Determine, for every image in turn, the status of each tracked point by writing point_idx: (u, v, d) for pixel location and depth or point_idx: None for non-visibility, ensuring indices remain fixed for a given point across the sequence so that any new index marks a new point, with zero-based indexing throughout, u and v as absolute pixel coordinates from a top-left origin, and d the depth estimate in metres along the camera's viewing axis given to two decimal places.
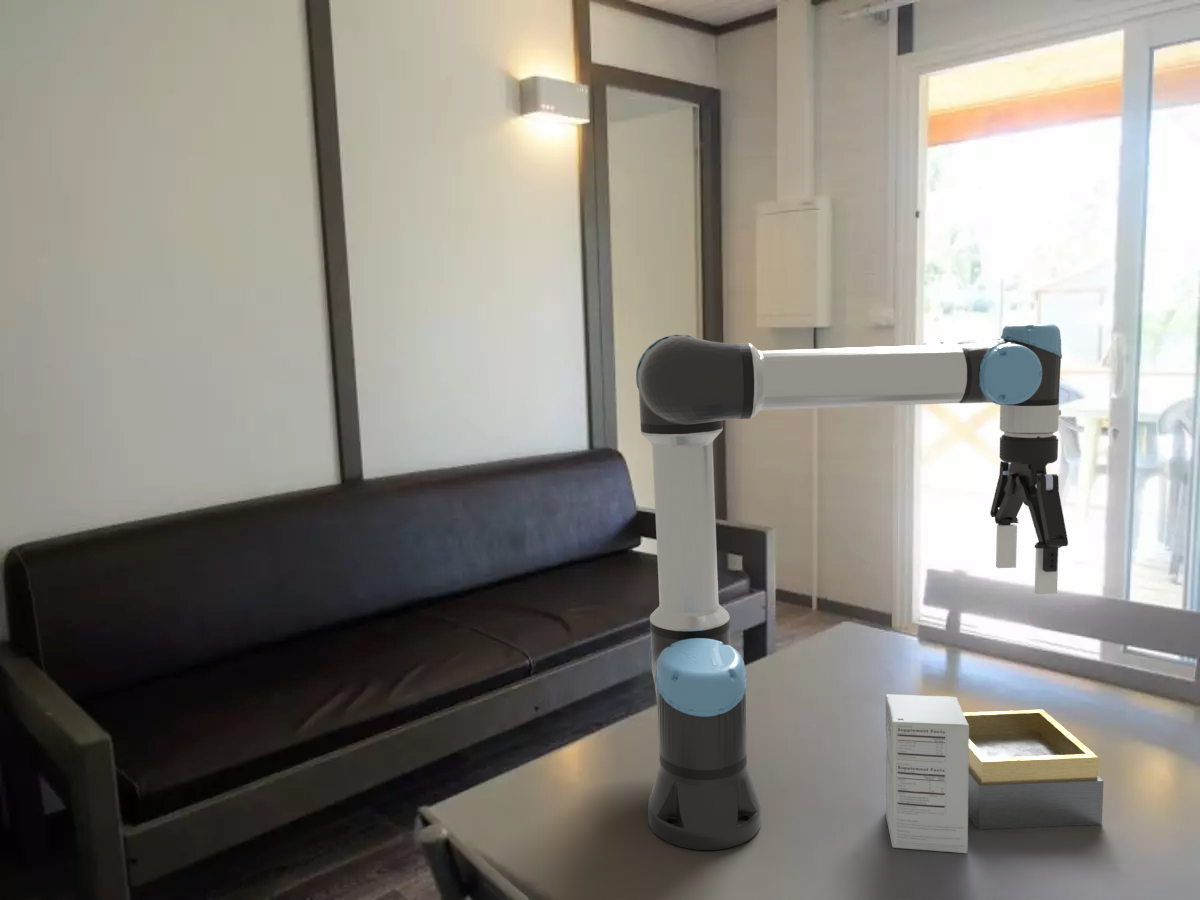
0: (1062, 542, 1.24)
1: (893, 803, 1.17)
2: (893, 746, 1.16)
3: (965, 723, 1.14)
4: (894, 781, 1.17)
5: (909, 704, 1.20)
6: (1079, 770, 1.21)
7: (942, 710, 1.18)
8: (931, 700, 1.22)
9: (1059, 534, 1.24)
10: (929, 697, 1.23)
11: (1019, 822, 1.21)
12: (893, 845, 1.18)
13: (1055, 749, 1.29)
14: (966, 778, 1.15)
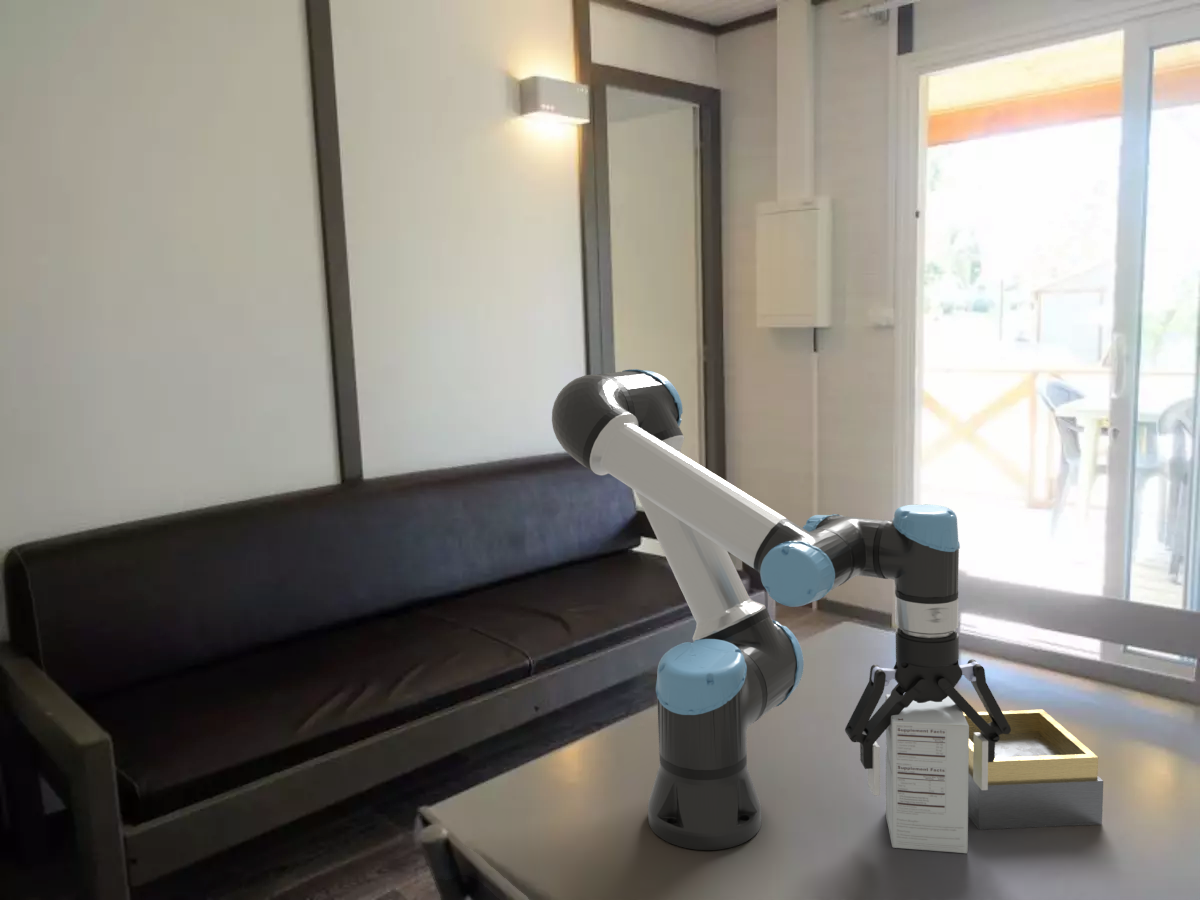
0: (849, 735, 1.19)
1: (893, 803, 1.17)
2: (893, 746, 1.16)
3: (965, 723, 1.14)
4: (894, 781, 1.17)
5: None
6: (1079, 770, 1.21)
7: (942, 710, 1.18)
8: None
9: (851, 726, 1.19)
10: None
11: (1019, 822, 1.21)
12: (893, 845, 1.18)
13: (1055, 749, 1.29)
14: (966, 778, 1.15)
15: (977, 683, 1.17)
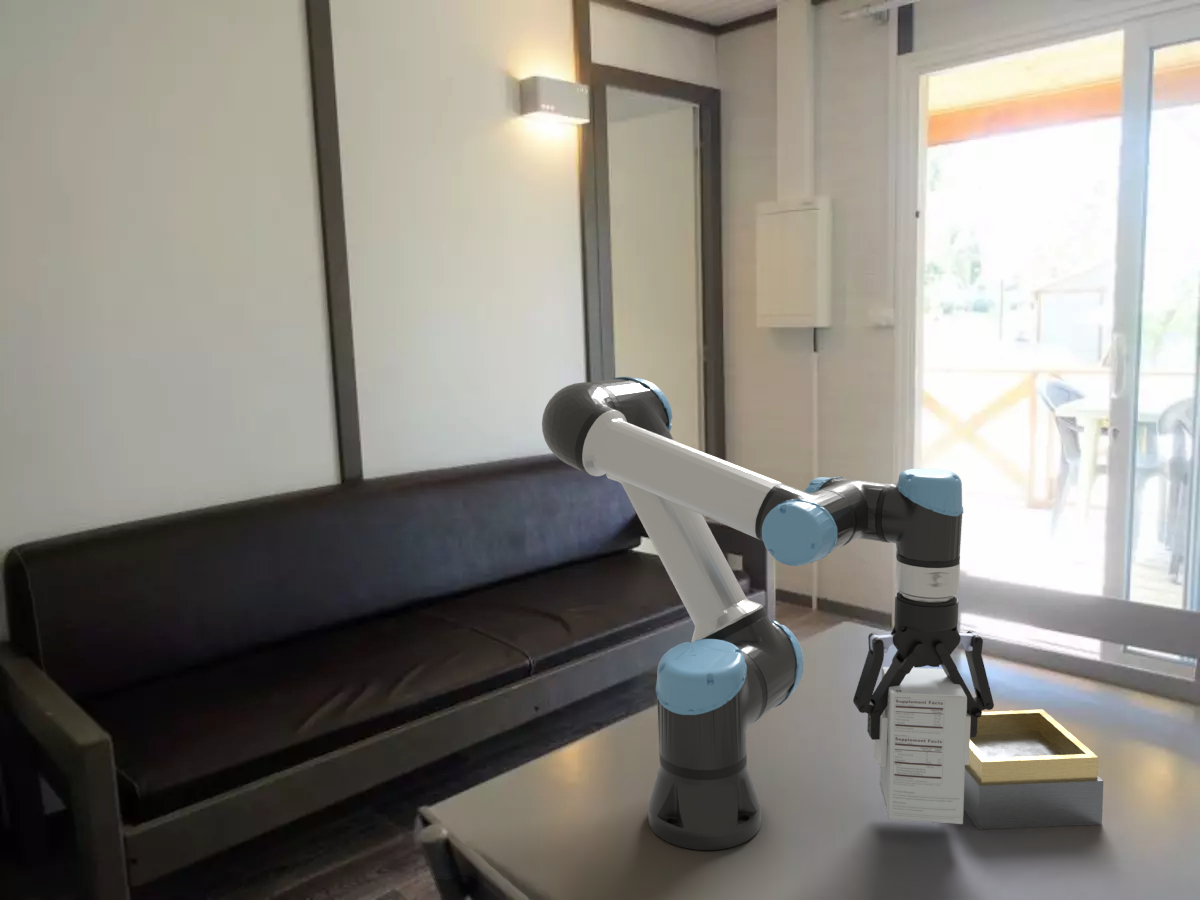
0: (857, 706, 1.19)
1: (890, 774, 1.17)
2: (891, 717, 1.16)
3: (963, 694, 1.14)
4: (891, 752, 1.16)
5: (906, 676, 1.20)
6: (1079, 770, 1.21)
7: (939, 682, 1.18)
8: (927, 672, 1.21)
9: (858, 697, 1.19)
10: (925, 669, 1.22)
11: (1019, 822, 1.21)
12: (889, 816, 1.18)
13: (1055, 749, 1.29)
14: (963, 749, 1.15)
15: (972, 653, 1.17)
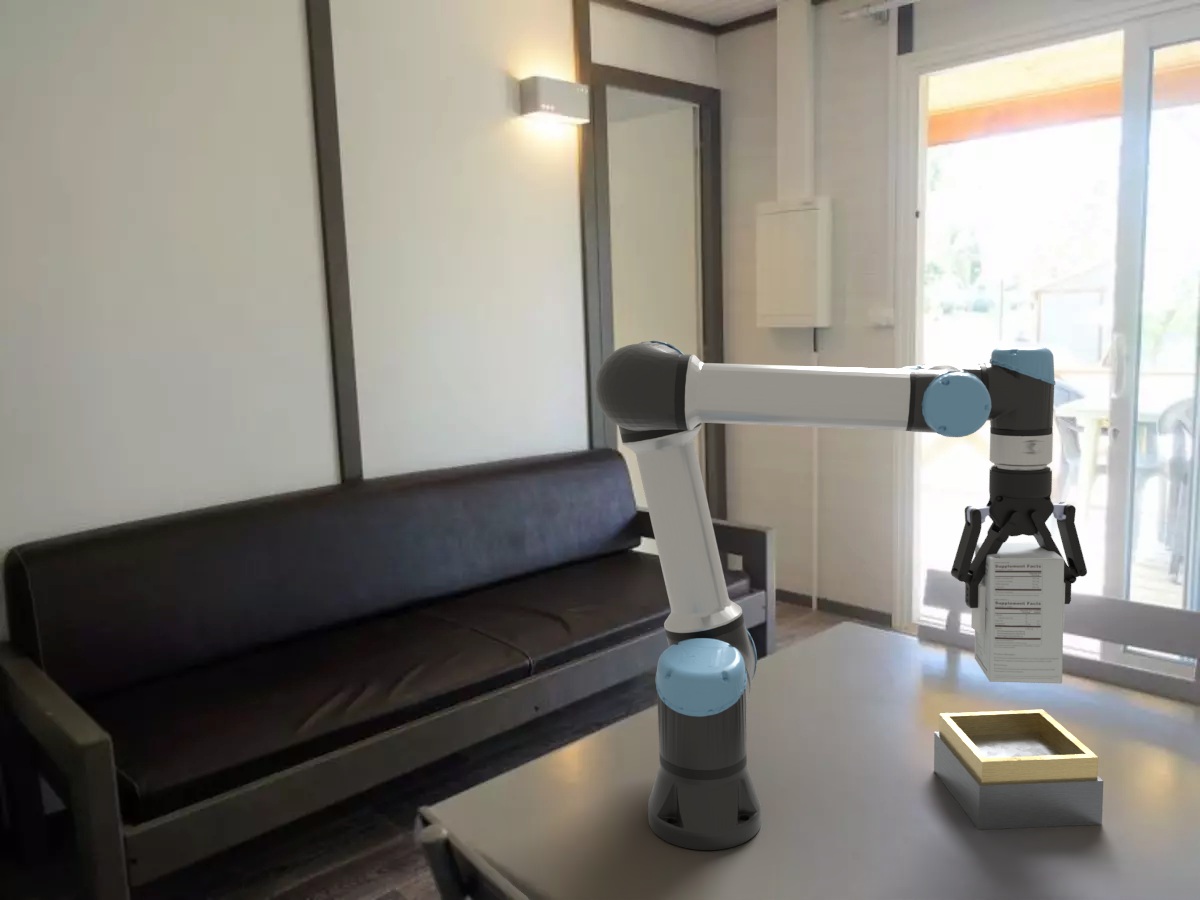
0: (956, 576, 1.24)
1: (990, 638, 1.22)
2: (991, 582, 1.21)
3: (1060, 557, 1.20)
4: (991, 616, 1.22)
5: (1001, 548, 1.26)
6: (1079, 770, 1.21)
7: (1034, 550, 1.24)
8: (1020, 544, 1.27)
9: (957, 568, 1.24)
10: (1018, 543, 1.28)
11: (1019, 822, 1.21)
12: (990, 679, 1.23)
13: (1055, 749, 1.29)
14: (1061, 610, 1.20)
15: (1066, 521, 1.23)
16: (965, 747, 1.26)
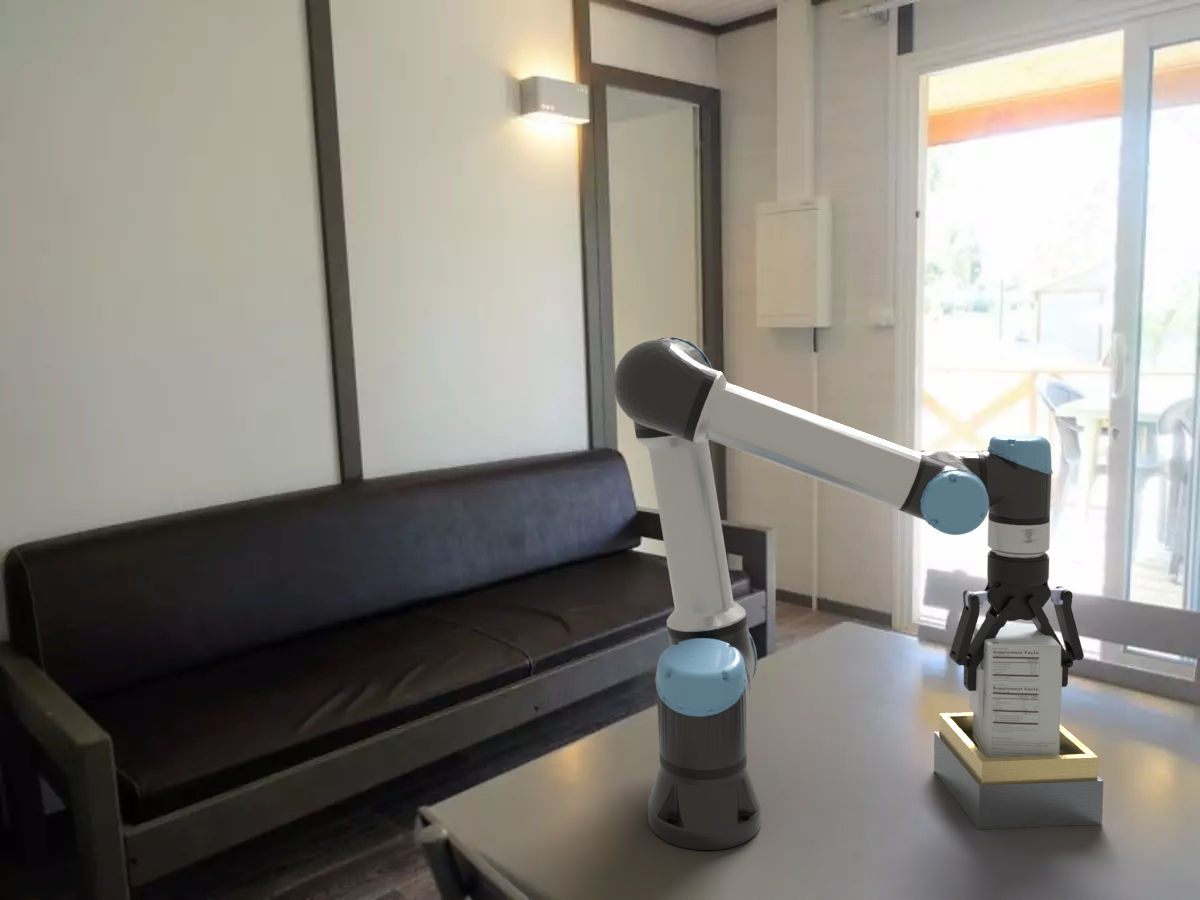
0: (954, 659, 1.26)
1: (988, 722, 1.24)
2: (989, 668, 1.23)
3: (1057, 644, 1.22)
4: (989, 701, 1.24)
5: (999, 630, 1.27)
6: (1079, 770, 1.21)
7: (1032, 634, 1.25)
8: (1018, 627, 1.29)
9: (955, 651, 1.26)
10: (1015, 625, 1.30)
11: (1019, 822, 1.21)
12: None
13: None
14: (1058, 696, 1.22)
15: (1063, 607, 1.24)
16: (965, 747, 1.26)
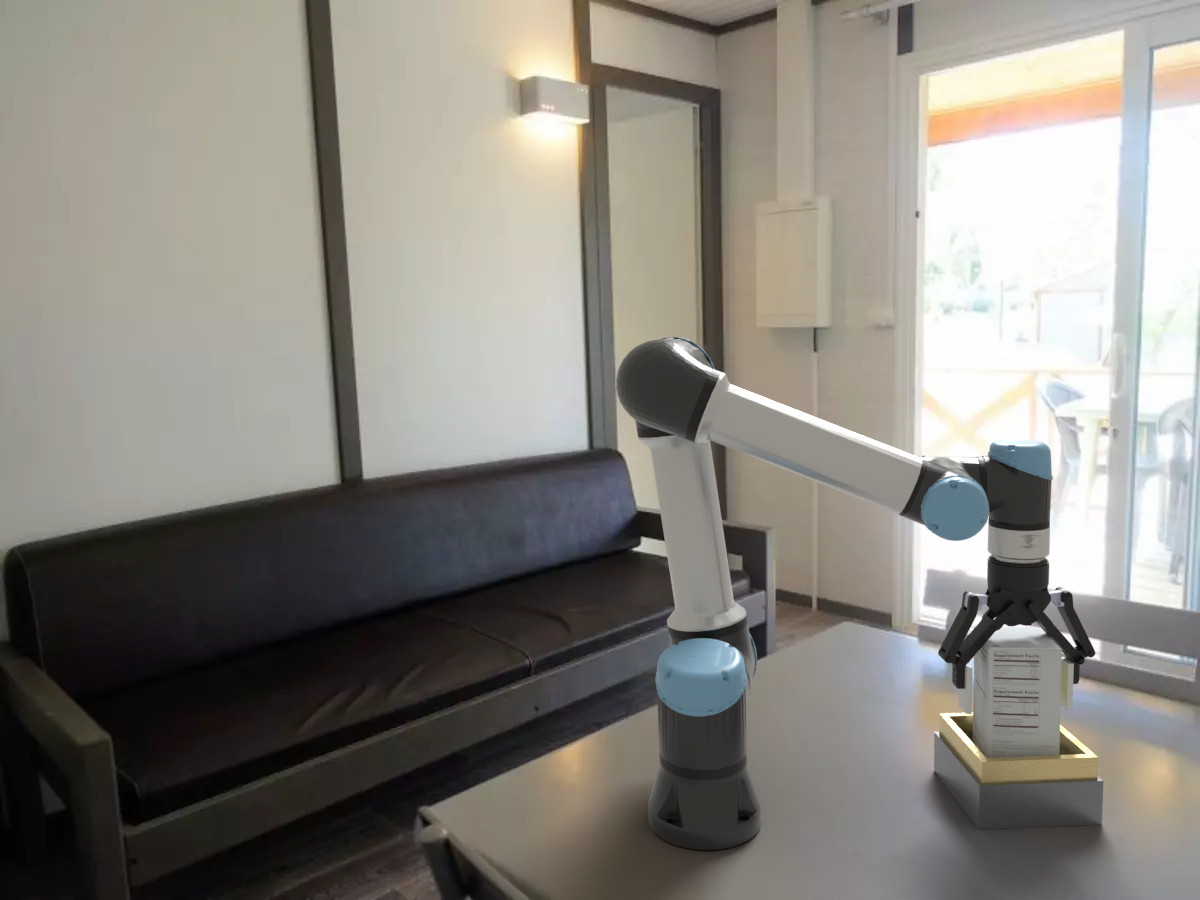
0: (943, 656, 1.26)
1: (989, 725, 1.24)
2: (989, 671, 1.23)
3: (1058, 647, 1.22)
4: (990, 704, 1.24)
5: (1000, 634, 1.28)
6: (1079, 770, 1.21)
7: (1032, 638, 1.25)
8: (1019, 630, 1.29)
9: (945, 649, 1.26)
10: (1016, 628, 1.30)
11: (1019, 822, 1.21)
12: None
13: None
14: (1058, 699, 1.22)
15: (1065, 608, 1.24)
16: (965, 747, 1.26)
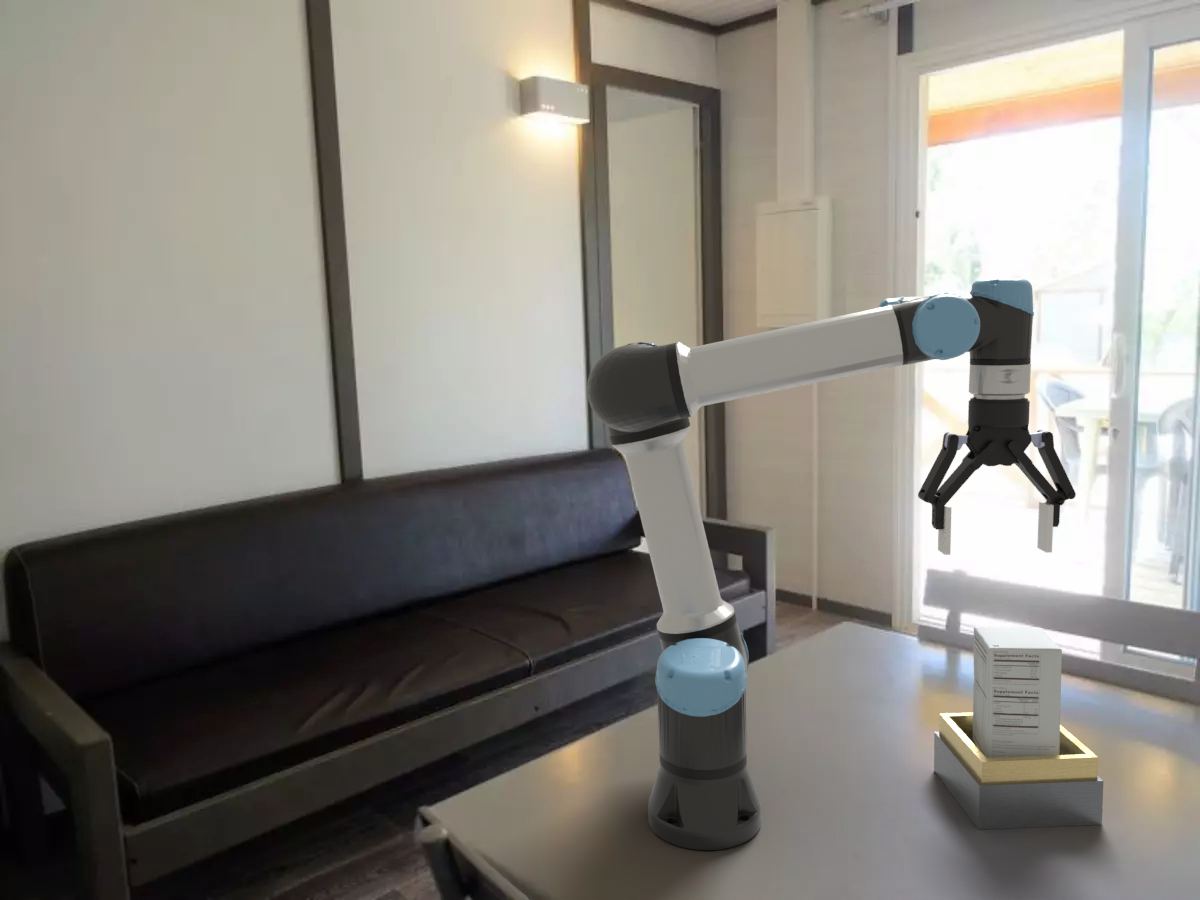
0: (922, 496, 1.27)
1: (989, 725, 1.24)
2: (989, 671, 1.23)
3: (1058, 647, 1.22)
4: (990, 704, 1.24)
5: (1000, 634, 1.28)
6: (1079, 770, 1.21)
7: (1032, 638, 1.25)
8: (1019, 630, 1.29)
9: (925, 489, 1.27)
10: (1016, 628, 1.30)
11: (1019, 822, 1.21)
12: None
13: None
14: (1058, 699, 1.22)
15: (1045, 448, 1.25)
16: (965, 747, 1.26)
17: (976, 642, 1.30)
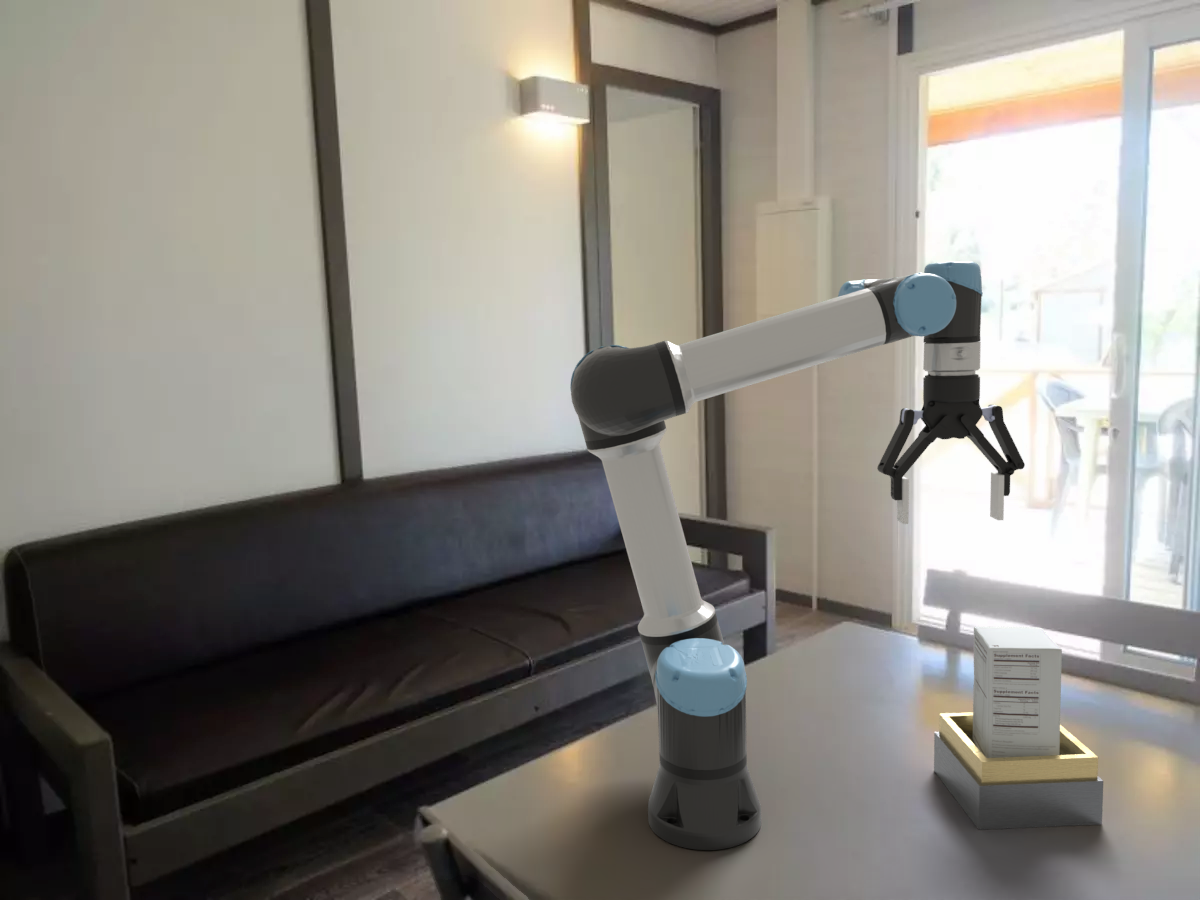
0: (881, 469, 1.33)
1: (989, 725, 1.24)
2: (989, 671, 1.23)
3: (1058, 647, 1.22)
4: (990, 704, 1.24)
5: (1000, 634, 1.28)
6: (1079, 770, 1.21)
7: (1032, 638, 1.25)
8: (1019, 630, 1.29)
9: (883, 462, 1.34)
10: (1016, 628, 1.30)
11: (1019, 822, 1.21)
12: None
13: None
14: (1058, 699, 1.22)
15: (995, 422, 1.32)
16: (965, 747, 1.26)
17: (976, 642, 1.30)
